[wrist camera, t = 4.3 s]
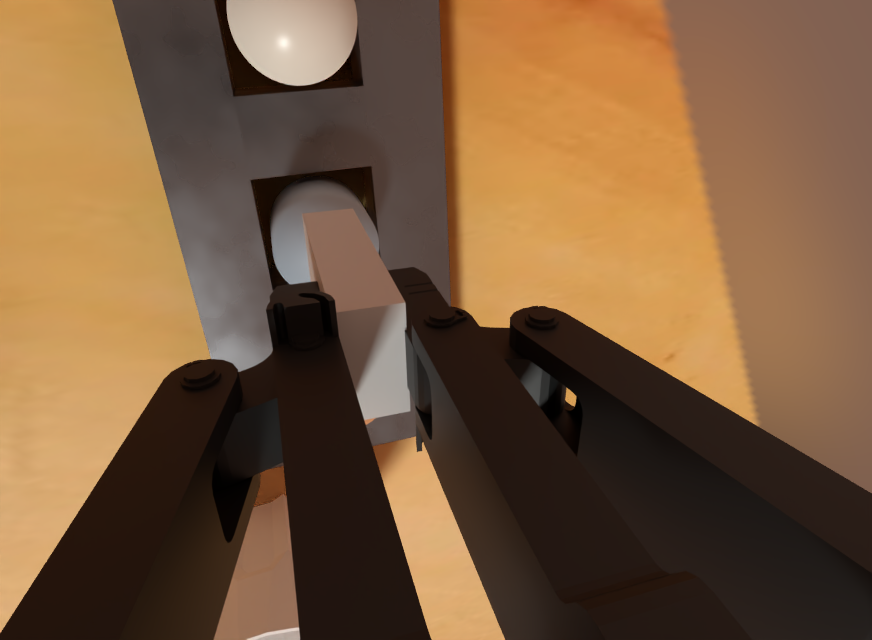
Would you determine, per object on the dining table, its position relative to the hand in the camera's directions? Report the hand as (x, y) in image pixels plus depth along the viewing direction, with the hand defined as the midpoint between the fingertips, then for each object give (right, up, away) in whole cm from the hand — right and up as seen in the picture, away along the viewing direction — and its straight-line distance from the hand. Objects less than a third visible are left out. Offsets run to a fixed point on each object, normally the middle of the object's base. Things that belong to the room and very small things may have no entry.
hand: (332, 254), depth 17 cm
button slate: (-2, +3, +10) cm, 10 cm away
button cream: (-3, +10, +6) cm, 12 cm away
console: (-3, +3, +11) cm, 12 cm away
